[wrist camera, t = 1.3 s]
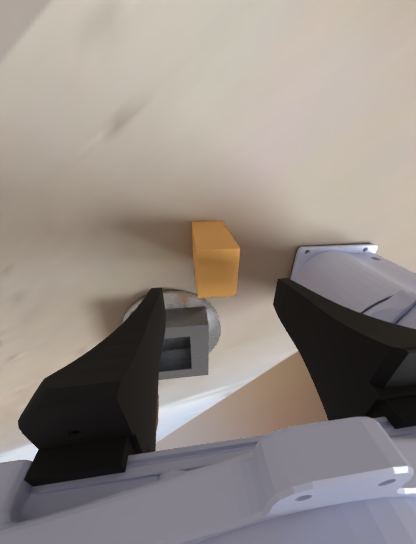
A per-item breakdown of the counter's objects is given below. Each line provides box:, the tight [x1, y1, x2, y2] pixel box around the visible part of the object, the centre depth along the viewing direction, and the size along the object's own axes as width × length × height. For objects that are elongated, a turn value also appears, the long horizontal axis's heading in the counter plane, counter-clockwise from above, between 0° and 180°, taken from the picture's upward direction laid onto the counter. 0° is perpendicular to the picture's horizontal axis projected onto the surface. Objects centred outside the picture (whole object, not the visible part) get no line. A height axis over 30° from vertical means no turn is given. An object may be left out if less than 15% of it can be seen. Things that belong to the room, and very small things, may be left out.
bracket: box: [121, 290, 221, 380], centre depth 24 cm, size 12×12×4 cm
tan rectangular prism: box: [192, 221, 240, 298], centre depth 17 cm, size 3×4×7 cm
